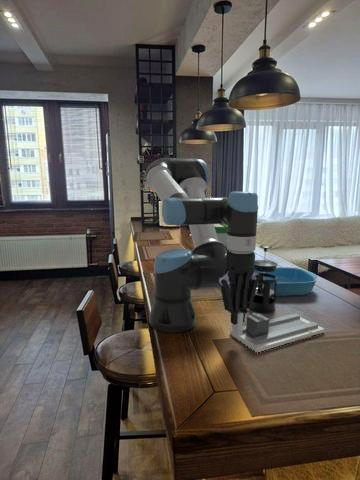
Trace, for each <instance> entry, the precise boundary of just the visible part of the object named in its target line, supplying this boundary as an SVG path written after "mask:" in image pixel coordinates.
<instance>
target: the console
mask: <svg viewBox="0 0 360 480" xmlns="http://www.w3.org/2000/svg"><path fill="white" fill-rule="evenodd" d="M322 332H324V333H325V328H323V327H321V326H319V323H316V322H315V321H309V320H307V319H305V318H303V317H301V315H299V314H297V313H296V312H295V313H290V314H287V315H283V316H279V317H275V318H271V319H269V330H268V334H266V335H262V336H258V337H255V338H254V337H253V336H251V335H250V334H248V333H247V332H246V325H243V331H242V336H236V335H235V334H234V333H232V328H231V329H230V331H229V333H230V334H229V335H231V336H232V337H233V338H235V339H236V340H238V342H240V341H241V342H240V343H241V344H243V345H244V344H245V345H244V346H246V347H247V346H248V349H250V348H251V349H252V350H251V349H250V350H251V351H253V350H254V351H255V352H254V351H253V352H254V353H256V352H257V353H256V354H259V353H258V352H260V353H262V352H261V351H264V350H267V349H270V348H273V347H276V346H279V345H283V344H285V343H289V342H292V341H295V340H297V339H301V338H304V337H307V336H311V335H314V334H318V333H322ZM270 350H271V349H270ZM267 351H268V350H267ZM264 352H265V351H264Z"/></svg>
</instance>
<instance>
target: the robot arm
mask: <svg viewBox="0 0 360 480" xmlns="http://www.w3.org/2000/svg"><path fill="white" fill-rule="evenodd" d="M209 171H210V170H209V167H208V165H207V163H206V162H205V161H204V160H203V159H200V158H199V159H198V158H193V157H191V158H183V157H181V158H179V157H177V158H175V157H161V158H158V159H157V160H154V161H152V163H150V164H149V165H148V166H147V168H146V170H145V173H144V180H145V182H146V185H147V186H148V188H149V189H150V190H151V191H153V192H155V194H156V195H157V197H158V198H159V199H160V200H159V201H161V203H162V205H161V216H162V220H163V223H164V224H165V225H167V226H177V227H179V226H180V227H181V226H189V232H190V235H191V239H192V243H193V247H194V248H193V249H192V250H190V249H187V248H173V249H167V250H165V251H162V252H160V253H158V254H157V255H156V256H155V258H154V264H153V275H154V276H153V277H154V278H153V283H154V284H153V285H154V289H153V291H154V293H153V294H154V297H153V298H154V300H153V303H152V306H151V308H150V312H149V315H148V324H149V326H150V327H151V328H152V329H154V330H156V331H159V332H163V333H182V332H183V333H184V332H187V331H189V330H191V329H192V328H194V327H195V325H197V316H196V315H197V314H196V312H195V308H194V306H193V303H192V291H199V290H211V289H220V292H221V297H222V302H223V307H224V310H225V311H227V312H229V313H230V323H231V324H232V328H231V329H232V333H234V334H235V335H236V336H242V331H243V326H244V325H243V324H244V323H245V321H246V314H248V313H249V310H251V308H252V304H253V300H254V296H255V292H256V288H257V284H258V281H259V280H260V278H261V275H260V274H257V273H255V272H254V268H253V266H254V265H255V260H256V252H254V251H255V250H256V248H257V247H256V246H257V242H256V241H257V229H258V212H259V205H258V202H259V200H258V199H259V196H258V194H257V192H254V191H230V192H229V194H228V197H227V196H218V197H206V193H205V191H206V188H207V186H208V185H209V181H210V175H209V174H210V172H209ZM214 224H225V225H227V246H226V248H227V249H228V251H226V248H225V245H224V244H223V243H222V242H220V241H218V237H217V234H216V230H215V227H214Z"/></svg>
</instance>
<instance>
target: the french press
mask: <svg viewBox="0 0 360 480" xmlns="http://www.w3.org/2000/svg"><path fill="white" fill-rule="evenodd" d="M259 248H261V249H263V252H264V257H263V258H264V259H255V265H254V266H253V268H254V270H256V271H261V272H264V273H257V274H260V275H261V278H260V280H259V281H258V287H257V288H256V292H255V296H254V300H253V304H252V308H251V309H250V310H251V311H253V312H254V313H257V314H258V313H259V314H271V312H272V313H274V312H275V311H276V297H277V296H276V284H277V277H276V276H275V275H273V274H269V273H265V272H273V271H276V267H278V265H279V263H278V262H276V261H274V260H267V259H266V255H267V250H268V249H272V246H270V245H266V244H265V245H260V246H259ZM264 276H265V277H270V278H273V280H264ZM272 283H275V287H274V290H272V289H270V284H272ZM273 295H274V296H273Z"/></svg>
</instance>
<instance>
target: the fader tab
mask: <svg viewBox="0 0 360 480" xmlns="http://www.w3.org/2000/svg"><path fill="white" fill-rule="evenodd" d="M269 320H270V318H268V317H266V316H264V315H263V314H262V313H258V312H252V313H251V314H249V315H246V325H245V326H246V332H247V333H248V334H250V335H251V336H253V337H254V338H255V337H258V336H262V335H266V334H268V330H269Z"/></svg>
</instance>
